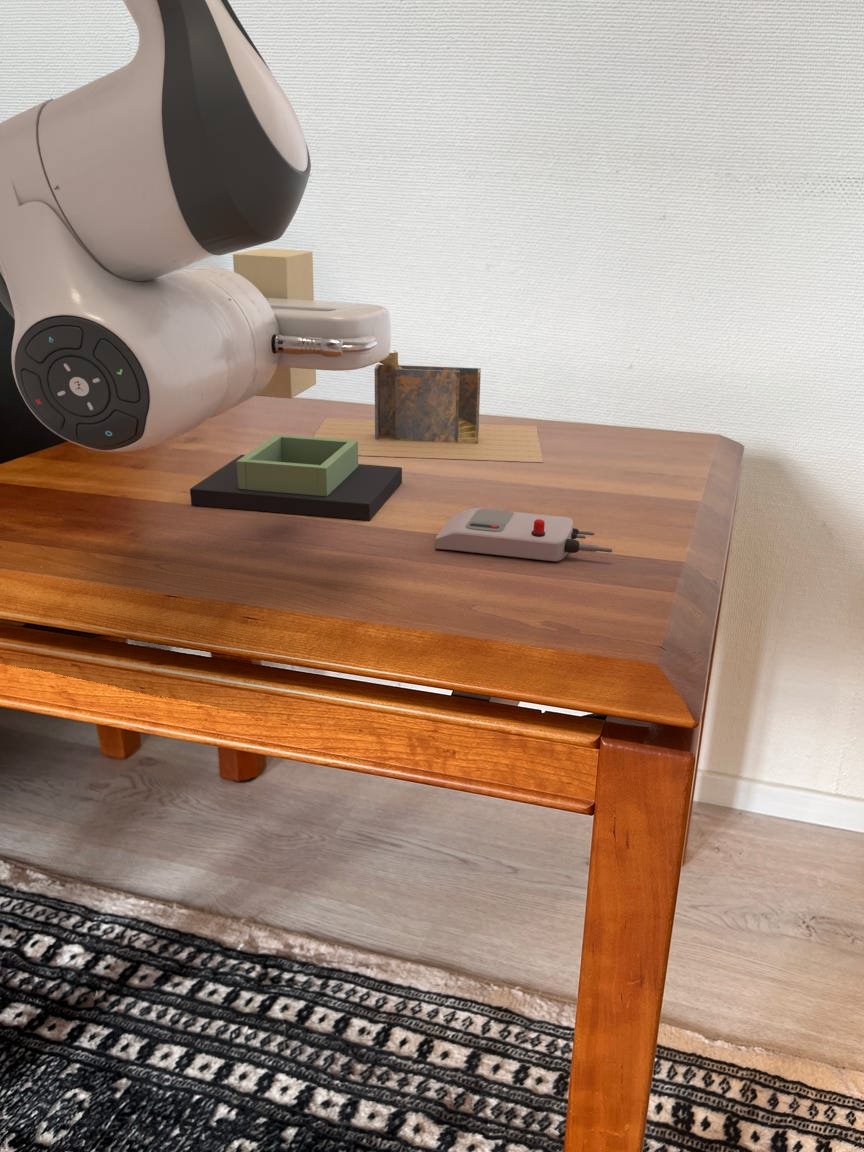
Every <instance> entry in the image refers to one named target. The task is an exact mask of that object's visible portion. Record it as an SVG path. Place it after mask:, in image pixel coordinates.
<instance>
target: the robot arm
mask: <svg viewBox="0 0 864 1152" xmlns="http://www.w3.org/2000/svg"><path fill="white" fill-rule="evenodd" d="M122 2H123V4H124V5H125V7H126V9H127V10H128V12H129V14H130V17H131V18H132V20H133V22H134V23H135V26H136V29H137V31H138V46H137V49H136V52H135V54H134V56H133V59H132V60H131V61H130V62H129V63H127V64H125V65H124V66H122V67H120V68H118V69H116V70H113V71H111V72H109V73H108V74H105V75H103V76H101V77H99V78H97V79H94V80H92V81H90V82H88V83H86V84H84V85H82V86H80V87H78V88H76V89H73V90H71V91H69V92H67V93H64V94H63V95H60V96H58V97H56V98H55V99H54V98H50V99H47V100H44V101H43V102H41V103H38V104H37V105H35V106H32V107H30V108H29V109H26V110H24V111H22V112H19V113H17V114H14V115H13V116H12V117H9V118H7V119H5V120H3V121H1V122H0V303H1V305H2V306H3V308H4V309H5V310H6V311H7V312H8V314H9V315H10V316H11V317H12V318H13V320H14V331H13V337H12V344H11V368H12V374H13V377H14V381H15V384H16V387H17V389H18V391H19V393H20V395H21V397H22V399H23V401H24V403H25V405H26V406H27V408H28V409H29V410H30V412H31V413H32V415H34V417H35V418H36V419H37V420H38V421H39V423H41V424H42V425H43V426H44V427H46V428H47V429H48V430H50V431H51V432H52V433H53V434H55V435H57V436H59V437H60V438H62V439H63V440H66V441H68V442H69V443H72V444H74V445H77V446H79V447H83V448H85V449H88V450H93V451H98V452H107V453H127V452H128V453H129V452H134V451H135V452H136V451H140V450H145V449H149V448H152V447H155V446H158V445H162V444H164V443H166V442H169V441H171V440H174V439H176V438H178V437H181V436H182V435H184V434H187V433H189V432H191V431H192V430H195V429H196V428H198V427H200V426H201V425H202V424H204V423H205V422H206V421H208V419H212V418H215V417H217V416H220V415H223V414H224V413H226V412H228V411H230V410H231V409H233V408H235V407H238V406H240V405H242V404H243V403H245V402H246V401H247V402H248V401H249V400H250V399H252V398H254V397H256V396H255V395H257V394H258V393H259V392H260V391H262V390H263V389H264V388H265V386H266V385H267V384H268V383H269V381H270V380H271V378H272V376H273V375H274V373H275V370H276V368H277V367H288V368H302V369H316V371H332V372H333V371H334V372H335V371H336V372H337V371H339V372H340V371H341V372H342V371H353V370H354V371H355V370H361V369H364V368H367V367H370V366H373V365H375V364H379V362H380V361H382V360H384V359H386V358H387V357H388V355H389V353H391V337H392V331H391V330H392V329H391V327H392V325H391V313H390V311H389V309H388V308H387V307H385V306H383V305H379V304H372V303H356V302H342V301H340V302H339V301H324V300H314V301H310V300H295V299H279V298H265V297H264V296H263V295H262V293H261V292H260V291H259V290H258V289H257V288H256V287H255V286H254V285H253V284H252V283H251V282H249V281H248V280H247V279H246V278H244V277H242V276H241V275H239V274H237V273H235V272H234V270H230V269H227V268H224V267H220V266H213V265H203V266H196V267H195V266H194V267H191V268H185V267H188V266H190V265H193V264H195V263H197V262H201V261H203V260H205V259H208V258H211V257H214V256H218V257H219V256H224V255H227V254H231V253H236V252H238V251H243V250H245V249H246V250H247V249H249V248H252V247H257V246H260V245H264V244H267V243H271V242H275V241H278V240H280V238H282V236H284V234H285V232H286V231H287V229H288V228H289V226H290V224H291V223H292V221H293V218H294V217H295V215H296V213H297V210H298V209H299V206H300V204H301V201H302V200H303V197H304V193H305V190H306V188H307V185H308V182H309V178H310V175H311V170H312V169H311V168H312V163H311V155H310V151H309V147H308V145H307V141H306V138H305V135H304V131H303V128H302V125H301V122H300V120H299V118H298V116H297V113H296V111H295V109H294V107H293V105H292V103H291V101H290V99H289V97H288V96H287V94H286V92H285V91H284V89H283V88H282V86H281V85H280V82H278V80H277V78H276V76H274V75H273V73H272V71H271V69H270V67H269V66H268V64H267V63H266V61H265V59H264V58H263V56H262V54H261V53H260V51H259V50H258V49H257V47H256V45H255V44H254V42H253V41H252V39H251V37H250V36H249V34H248V32H247V30H246V29H245V27H244V26H243V24H242V23H241V21H240V19H239V18H238V15H237V14H236V12H235V11H234V9H233V7H232V5H231V4H230V2H229V0H122ZM183 268H185V269H183Z"/></svg>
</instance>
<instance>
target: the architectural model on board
mask: <svg viewBox="0 0 864 1152" xmlns="http://www.w3.org/2000/svg"><path fill="white" fill-rule="evenodd" d="M481 373H482V368H481V367H461V366H457V367H456V366H455V367H454V366H437V365H436V366H435V365H434V366H433V365H432V366H431V365H408V364H407V365H406V364H399V352H398V351H396V350H394V352H390V353H389V355H388V357H387V358H386V359H384V360H382V361H380V362H378V363H376V365H375V367H374V419H360V418H359V419H358V418H357V419H356V418H333V417H332V418H331V417H330V418H329V417H326V418H324V419H323V421H322V423H321V424H320V426H319V427H318V429H317V430H316V432H315V434H314V435H313V436H312V437H317V438H330V439H343V440H356V441H358V457H359V456H363V457H390V458H417V459H441V460H467V461H468V460H471V461H492V462H493V461H494V462H495V461H496V462H522V463H544V460H543V454H542V449H541V448H542V447H541V443H540V437H539V432H538V431H539V430H538V427H537V425H521V424H520V425H518V424H517V425H516V424H494V423H493V424H491V423H488V424H487V423H480V402H481V401H480V400H481Z"/></svg>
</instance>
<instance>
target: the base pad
mask: <svg viewBox="0 0 864 1152" xmlns="http://www.w3.org/2000/svg"><path fill="white" fill-rule="evenodd" d="M402 483H403V467H401V466H389V465H388V466H387V465H377V464H375V465H374V464H363V463H359V455H358V441H356V440H343V439H330V438H317V437H313V436H304V435H303V436H302V435H288V434H275V435H273V436H272V437H270V438H269V439H267V440H266V441H264V442H263V443H261V444H259V446H257V447H256V448H254V449H252V450H251V451H249V452H248V453H247V454H240V455H239V456H237V457H236V458H234V459H233V460H231V461H229V462H228V463H226V464H225V465H224V466H222V467H220V468H219V469H218V470H216V471H215V472H213V473H212V474H210V475H209V476H207V477H205V478H204V479H203V480H200V481H199V482H198V483H197V484H195V485H194V486H191V488H190V489H189V494H190V504H191V506H199V507H211V508H222V509H234V510H245V511H256V512H268V513H279V514H291V515H303V516H313V517H324V518H325V517H326V518H334V519H335V518H337V519H347V520H357V521H359V520H360V521H370V520H371V519H372V518H373V517H374V516H375V515H376V514H377V513H378V511H379V510H380V509H381V507H382V506H383V505H384V504H385V503H386V501H388V499H389V498H390V497H391V496H392V495H393V494H394V492H395V491H396V490H397V489H398V488H399V486H400V485H401V484H402Z"/></svg>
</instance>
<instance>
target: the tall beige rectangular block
mask: <svg viewBox="0 0 864 1152" xmlns="http://www.w3.org/2000/svg"><path fill="white" fill-rule="evenodd" d="M313 255H314V254H313V251H312V250H295V249H280V248H279V249H278V248H275V249H274V248H258V249H253V250H248V251H241V252H234V253H233V254H232V261H233V262H232V263H233V264H232V265H233V266H232V267H233V272H235V273H237V274H239V275H241V276H242V277H244V278H246V279H247V280H248V281H249V282H251V283H252V284H253V285H254V286H255V287H256V288H257V289H258V290H259V291H260V292H261V293H262V295H263V296H264V297H265V298H279V299H295V300H310V301H315V296H314V295H315V294H314V293H315V292H314V290H315V289H314V260H313V259H314V257H313ZM315 385H317V370H316V369H302V368H288V367H277V368H276V370H275V373H274V375H273V376H272V378H271V380H270V381H269V383H268V384H267V385H266V386H265V388H264V389H263V390H262V391H260V392H259V393H258V394H257V395H255V396H254V397H263V398H276V399H277V398H279V399H293V398H295V397H296V396H298V395H300V394H302V393H303V392H305V391H307V390H308V389H310V388H312V387H314V386H315Z"/></svg>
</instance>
